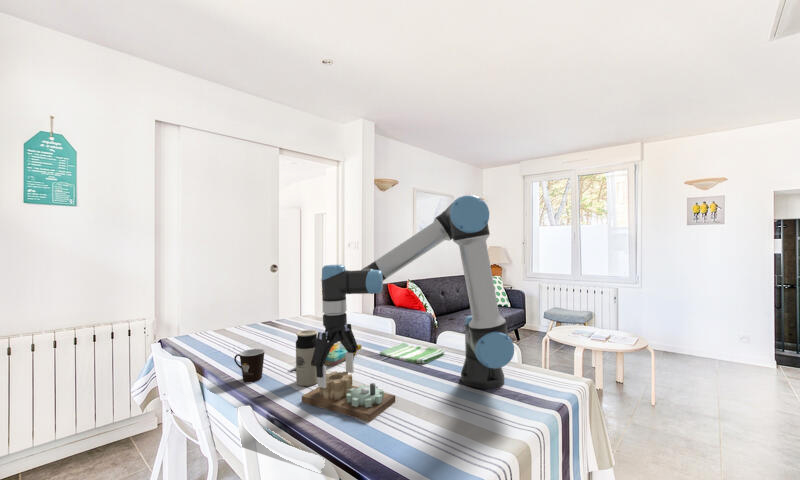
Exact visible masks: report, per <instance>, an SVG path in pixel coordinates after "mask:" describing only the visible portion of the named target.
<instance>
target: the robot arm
mask: <svg viewBox="0 0 800 480" xmlns="http://www.w3.org/2000/svg"><path fill="white" fill-rule="evenodd" d="M489 220H490V210H489V207H488V205H487V203H486V202H485V201H484V200H483V199H482V198H481V197H479V196H476V195H472V194H469V195H468V194H467V195H463V196H460V197H458V198H457V197H456V199H455V200H453V202H452V203H451V204H450V205H448V207H447V208H446V209H445V210H443V212H441V213H440V214H438V216H436V217H435V218H434V219H433V222H431V223H430V224H429V225H428V226H426V227H424V228H423V229H420V231H418V232H417V233H415V234H413V235H412V236H411V237H409V238H408V239H406V240H405V241H403V242H401V243H399V244H398V245H397V246H396V247H394V248H392V249H390V250H389V251H388V252H387V253H385V254H384V255H382V256H380V257H378V258H377V259H376V260H374V261H373V262H371V263H370V264H368V265H366V266H364V267H363V268H362V269H359V270H348V269H346V266H345V264H328V265H323V267H322V268H321V279H320V281H321V292H322V293H321V295H322V299H321V300H322V313H323V315H322V324H323V325H322V326H323V327H324V328H325V329H324V332H322V331H321V332H320V331H319V332H318V331H317V332H318V333H317V343H316V347H315V350H314V354H313V357H312V361H311V366H316V372H317V377H318V383H317V388H318V387H322V388H326V374H327V366H326V365H325V364H324V363H325V361H326V359H327V356H328V354H329V352H330V349H331V347H332V346H333V345H335V344H337V343H340V342H341V343H342V345H343V346H344V348H345V349H346V350H347V351H348V352H346V353H345V359H346V360H345V372H348V374H353V373H354V371H355V369H354V360H355V355H354V353H356V354H357V352H356V349H357V348H358V346H357V341H356V338H355V335H354V332H353V330H352V324H351V323H348V322H347V321H348V320H347V318H348V317H347V315H348V314H347V313H346V312H347V310H348V309H347V295H356V294H357V295H358V294H359V295H362V294H363V295H364V294H365V295H366V294H370V295H374V294H380V293H382V292H383V290H384V289H383V288H384V286H383V285H384V281H385V280H386V279H389V278H390V277H391V276H393V275H394V274H396V273H397V272H399V271H400V270H402V269H403V268H405V267H406V266H408V265H410V264H411V263H412V262H414V261H416V260H417V259H419V258H420V257H421V256H423V255H424V254H426V253H428V252H429V251H431V250H433V248H435V247H437V246H438V245H440V244H442V243H443V242H444V241H451V240H452V241H453V242H454V243H455V244H456V245H457V246H458V247H459V248H458V249H459V252H460V254H459V255H460V258H461V263H462V269H463V274H464V279H465V285H466V291H467V296H468V301H469V308H470V313H471V315H468V316H466V317H465V318H464V335H465V337H464V339H465V341H464V342H465V343H464V344H465V352H464V353H465V359H464V361H463V362H464V363H463V365H462V369H461V373H460V380H461V383H463V384H464V385H466V386H469V387H472V388H475V389H483V390H484V389H485V390H486V389H496V388H500V387H502V386H503V385H504V384H505V373H504V370H503V367H505V366H507V365H508V364H509V363H510V362H511V360H513V357H514V355H515V346H514V342H513V340H512V338H511V337H510V336H509V332H508V326H507V321H506V319H505V318H504V317H503V316H501V314H500V311H499V310H500V309H499V304H498V300H497V299H498V298H497V294H496V289H495V284H494V278H493V271H492V267H491V261H490V255H489V250H488V246H487V245H488V244H487V240H488V238H489V236H491V233H490V229H489ZM315 361H316V362H315ZM320 361H321V362H320Z"/></svg>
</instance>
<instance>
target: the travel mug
mask: <svg viewBox="0 0 800 480" xmlns="http://www.w3.org/2000/svg"><path fill="white" fill-rule="evenodd" d="M295 335H296V336H297V339H296V341H295V368H296V372H295V376H296V377H295V378H296V379H295V380H296V385H298V386H301V387H309V386H315V385H316V384H318V377H317V372H316V366H311V361H312V357H313V354H314V350H315V347H316V343H317V337H318V331H317V330H316V329H304V330H300V331H297V332H296V334H295ZM315 362H316V361H315Z"/></svg>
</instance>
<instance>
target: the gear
mask: <svg viewBox="0 0 800 480" xmlns="http://www.w3.org/2000/svg"><path fill="white" fill-rule="evenodd" d="M358 387H359V388H356V389H355V388H351V389H350V390H349V393H347V394H346V399H347V403H349V402H352V406H354V407H358V406H359V405H360V406H365V407H372V404H375V403H377V404H380V403H381V402H382V398H384V393H385V392H384V389H383V388H380V389H379V386H377V385H376V383H375V382H373V383H372V382H371V383H369V386H366V385H365V384H364V385H359V386H358Z"/></svg>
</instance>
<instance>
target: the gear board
mask: <svg viewBox="0 0 800 480" xmlns="http://www.w3.org/2000/svg"><path fill="white" fill-rule="evenodd" d="M333 380H337V379H333ZM352 388H355V389H356V388H359V386H357V385H352ZM301 403H303V404H306V405H309V406H312V407H316V408H319V409H324V410H327V411H331V412H334V413H338V414H342V415H344V416H349V417H352V418H356V419H359V420H363V421H366V422H370V423H371V422H372V421H373V420H374V419H375V418H377V417H378V416H379V415H381V414H383V412H384V411H387V409H388V408H389V407H391V406H392V405H393V404H395V403H396V395H394V394H390V393H385V392H384V398H382V402H381V403H380V404H377V403H375V404H372V407H365V406H360V405H359V406H358V407H354V406H352V402H349V403H347V399H346V397H345V396H344V397H341V399H337V400H335V399H334V398H333V399H332V398H329V399H324V398H323V396H320V387H318V386H317V388H314V389H312V390H311V391H309V392H306V393H305V394H303V395H301Z"/></svg>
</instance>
